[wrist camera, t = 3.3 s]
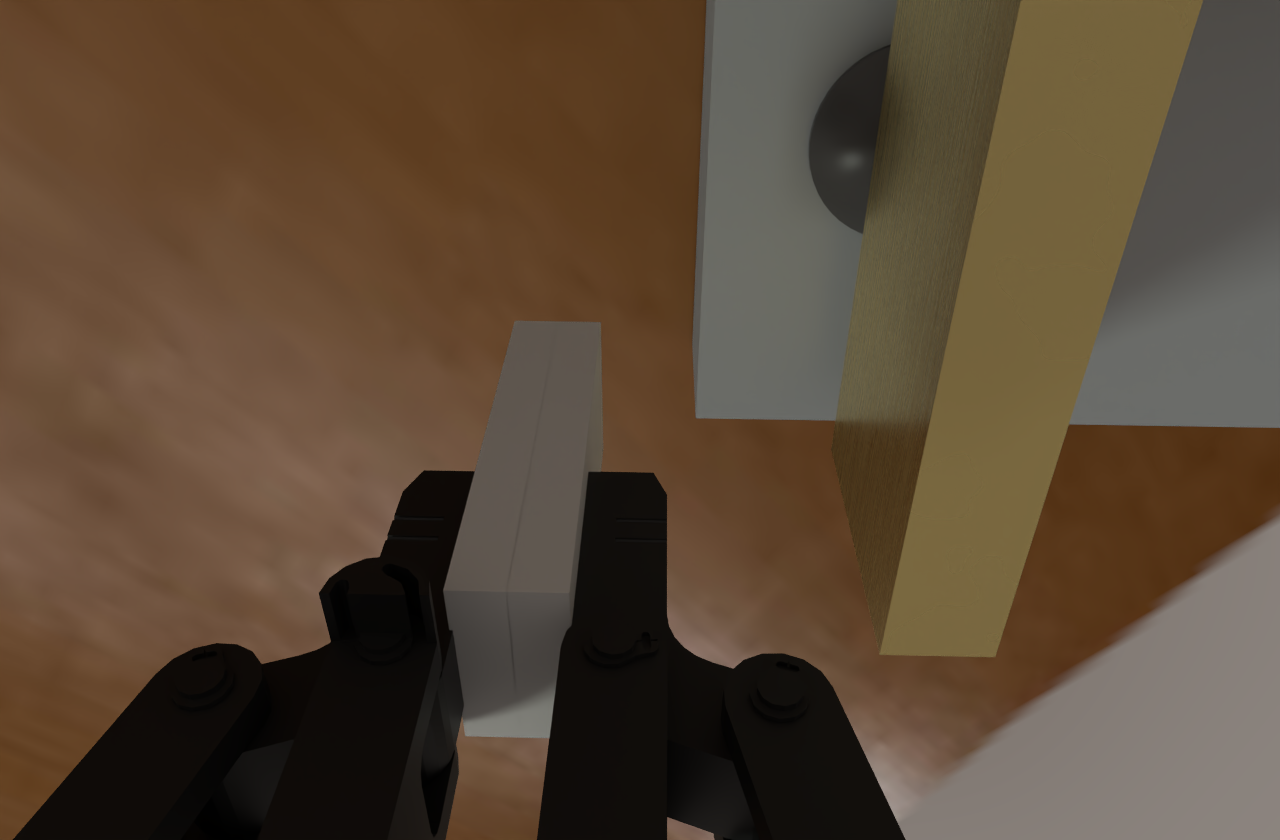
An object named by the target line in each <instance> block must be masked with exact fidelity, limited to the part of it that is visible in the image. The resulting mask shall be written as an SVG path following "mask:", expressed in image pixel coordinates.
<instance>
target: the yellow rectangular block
mask: <svg viewBox="0 0 1280 840" xmlns="http://www.w3.org/2000/svg"><path fill="white" fill-rule="evenodd" d="M1202 3H1203V0H897V6H896V13H895V20H894V26H893V33H892V40H891V47H890V53H889V60H888V67H887V74H886V81H885V87H884V94H883V101H882V108H881V115H880V121H879V128H878V135H877V142H876V148H875V155H874V162H873V169H872V176H871V182H870V189H869V196H868V203H867V210H866V216H865V223H864V230H863V237H862V244H861V250H860V257H859V264H858V271H857V277H856V284H855V291H854V298H853V305H852V311H851V318H850V325H849V332H848V339H847V345H846V352H845V359H844V366H843V372H842V379H841V386H840V393H839V400H838V406H837V413H836V420H835V427H834V434H833V440H832V447H831V450H832V455H833V459H834V463H835V467H836V472H837V476H838V480H839V484H840V489H841V493H842V497H843V501H844V506H845V510H846V514H847V518H848V523H849V527H850V531H851V535H852V540H853V544H854V548H855V552H856V557H857V561H858V565H859V569H860V573H861V578H862V582H863V586H864V590H865V595H866V599H867V603H868V607H869V612H870V616H871V620H872V624H873V629H874V633H875V637H876V641H877V646H878V650H879V654H880V655H916V656H966V657H995V656H996V653H997V649H998V646H999V643H1000V640H1001V637H1002V634H1003V630H1004V627H1005V624H1006V621H1007V618H1008V615H1009V611H1010V608H1011V605H1012V602H1013V599H1014V596H1015V593H1016V589H1017V586H1018V583H1019V580H1020V577H1021V574H1022V570H1023V567H1024V564H1025V561H1026V558H1027V555H1028V552H1029V548H1030V545H1031V542H1032V539H1033V536H1034V533H1035V529H1036V526H1037V523H1038V520H1039V517H1040V514H1041V511H1042V507H1043V504H1044V501H1045V498H1046V495H1047V492H1048V488H1049V485H1050V482H1051V479H1052V476H1053V473H1054V470H1055V466H1056V463H1057V460H1058V457H1059V454H1060V451H1061V447H1062V444H1063V441H1064V438H1065V435H1066V432H1067V429H1068V425H1069V422H1070V419H1071V416H1072V413H1073V410H1074V406H1075V403H1076V400H1077V397H1078V394H1079V391H1080V388H1081V384H1082V381H1083V378H1084V375H1085V372H1086V369H1087V365H1088V362H1089V359H1090V356H1091V353H1092V350H1093V346H1094V343H1095V340H1096V337H1097V334H1098V331H1099V328H1100V324H1101V321H1102V318H1103V315H1104V312H1105V309H1106V305H1107V302H1108V299H1109V296H1110V293H1111V290H1112V287H1113V283H1114V280H1115V277H1116V274H1117V271H1118V268H1119V264H1120V261H1121V258H1122V255H1123V252H1124V249H1125V246H1126V242H1127V239H1128V236H1129V233H1130V230H1131V227H1132V223H1133V220H1134V217H1135V214H1136V211H1137V208H1138V205H1139V201H1140V198H1141V195H1142V192H1143V189H1144V186H1145V182H1146V179H1147V176H1148V173H1149V170H1150V167H1151V164H1152V160H1153V157H1154V154H1155V151H1156V148H1157V145H1158V141H1159V138H1160V135H1161V132H1162V129H1163V126H1164V123H1165V119H1166V116H1167V113H1168V110H1169V107H1170V104H1171V100H1172V97H1173V94H1174V91H1175V88H1176V85H1177V81H1178V78H1179V75H1180V72H1181V69H1182V66H1183V63H1184V59H1185V56H1186V53H1187V50H1188V47H1189V44H1190V40H1191V37H1192V34H1193V31H1194V28H1195V25H1196V22H1197V18H1198V15H1199V12H1200V9H1201V6H1202Z"/></svg>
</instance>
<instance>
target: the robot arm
mask: <svg viewBox="0 0 1280 840" xmlns="http://www.w3.org/2000/svg"><path fill="white" fill-rule="evenodd" d="M602 455H603V414H602V362H601V322H552V321H515V323H514V326H513V330H512V334H511V338H510V341H509V345H508V349H507V353H506V356H505V360H504V364H503V368H502V371H501V375H500V379H499V383H498V386H497V390H496V394H495V398H494V401H493V405H492V409H491V413H490V417H489V420H488V424H487V428H486V432H485V435H484V439H483V443H482V447H481V450H480V454H479V458H478V462H477V465H476V469H475V471H423V472H422V473H421V474H420V475H419V476H418V477H417V478H416V479H415V480H414V481H413V482H412V483H411V484H410V485H409V486H408V487H407V488H406V489H405V490H404V491H403V493H402V496H401V499H400V501H399V504H398V507H397V510H396V513H395V515H394V517H395V518H394V520H393V521H392V524H391V527H390V530H389V532H388V539H387V540H386V541H385V544H384V546H383V549H382V552H381V555H380V557H377V558H368V559H364V560H361V561H359V562H356V563H353V564H351V565H348V566H345V567H344V568H343V569H341V570H340V571H339V572H337V573H336V574H335V575H333V576H332V577H330V578H329V579H328V581H327V582H326V584H325V585H324V587H323V588H322V589H321V591H320V592H319V596H320V600H321V604H322V608H323V611H324V615H325V619H326V623H327V627H328V631H329V635H330V639H331V643H329V644H327V645H325V646H324V647H322V648H320V649H318V650H315V651H312V652H309V653H306V654H303V655H299V656H295V657H291V658H287V659H282V660H278V661H274V662H269V663H265V664H261V663H260V661H259V660H258V658H257V657H256V656H255V654H254V653H253V652H252V651H250V650H248V649H246V648H244V647H241V646H239V645H237V644H220V643H216V644H211V645H207V646H202V647H198V648H194V649H192V650H190V651H188V652H186V653H184V654H182V655H180V656H178V657H176V658H174V659H172V660H171V661H170V662H169V663H168V664H167V665H166V666H164V667H163V668H162V669H161V670H160V671H159V672H158V673H156V674H155V676H154V677H153V678H152V679H151V680H150V681H149V682H148V684H147V685H146V686H145V687H144V688H143V689H142V691H141V692H140V693H139V694H138V695H137V696H136V698H135V699H134V700H133V701H132V702H131V703H130V705H129V706H128V707H127V708H126V709H125V710H124V711H123V713H122V714H121V715H120V716H119V717H118V718H117V720H116V721H115V722H114V723H113V724H112V725H111V727H110V728H109V729H108V730H107V731H106V732H105V733H104V735H103V736H102V737H101V738H100V739H99V740H98V742H97V743H96V744H95V745H94V746H93V747H92V749H91V750H90V751H89V752H88V753H87V754H86V755H85V757H84V758H83V759H82V760H81V761H80V762H79V764H78V765H77V766H76V767H75V768H74V769H73V771H72V772H71V773H70V774H69V775H68V776H67V778H66V779H65V780H64V781H63V782H62V783H61V784H60V786H59V787H58V788H57V789H56V790H55V791H54V793H53V794H52V795H51V796H50V797H49V798H48V800H47V801H46V802H45V803H44V804H43V805H42V806H41V808H40V809H39V810H38V811H37V812H36V813H35V815H34V816H33V817H32V818H31V819H30V820H29V822H28V823H27V824H26V825H25V826H24V827H23V829H22V830H21V831H20V832H19V833H18V834H17V835H16V837H15V838H14V839H13V840H445V839H446V834H447V829H448V824H449V819H450V814H451V809H452V804H453V799H454V794H455V789H456V784H457V779H458V774H459V767H458V753H457V747H456V741H457V736H458V732H459V727H460V722H461V718H462V717H463V723H464V730H465V736H483V737H525V738H549V746H548V754H547V762H546V771H545V779H544V787H543V795H542V803H541V811H540V819H539V828H538V836H537V840H667V817H669V818H672V819H675V820H677V821H680V822H683V823H686V824H689V825H692V826H694V827H697V828H700V829H703V830H706V831H708V832H711V833H714V838H715V840H905V838H904V836H903V833H902V831H901V829H900V827H899V825H898V823H897V821H896V819H895V817H894V814H893V812H892V810H891V808H890V806H889V804H888V802H887V800H886V798H885V796H884V793H883V791H882V789H881V787H880V785H879V783H878V781H877V779H876V777H875V775H874V772H873V770H872V768H871V766H870V764H869V762H868V760H867V758H866V756H865V754H864V751H863V749H862V747H861V745H860V743H859V741H858V739H857V737H856V735H855V733H854V730H853V728H852V726H851V724H850V722H849V720H848V718H847V716H846V714H845V712H844V709H843V707H842V705H841V703H840V701H839V699H838V697H837V695H836V693H835V691H834V688H833V687H832V685H831V684H830V683H829V681H828V680H827V678H826V677H825V676H824V674H823V673H822V672H821V671H820V670H819V669H817V668H816V667H814V666H812V665H811V664H809V663H808V662H806V661H805V660H803V659H800V658H797V657H793V656H790V655H786V654H760V655H757V656H754V657H751V658H748V659H745V660H743V661H742V662H741V663H740V664H738V665H737V666H736V667H735V668H734V669H732V668H729V667H726V666H722V665H719V664H716V663H712V662H710V661H707V660H705V659H702V658H700V657H698V656H696V655H694V654H693V653H691V652H690V651H688V650H687V649H685V648H684V647H683V646H682V645H681V644H680V643H679V641H678V640H677V639H676V638H675V637H674V635H673V633H672V631H671V629H670V627H669V624H668V618H667V494H666V492H665V491H664V489H663V488H662V486H661V484H660V483H659V481H658V480H657V478H656V476H655V475H654V473H637V472H601V466H602Z"/></svg>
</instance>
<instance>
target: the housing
mask: <svg viewBox="0 0 1280 840" xmlns="http://www.w3.org/2000/svg"><path fill="white" fill-rule="evenodd" d="M896 6H897V0H707V5H706V29H705V53H704V77H703V102H702V126H701V150H700V174H699V198H698V222H697V246H696V270H695V294H694V318H693V342H692V346H693V368H694V390H695V413H696V418H720V419H781V420H836V413H837V406H838V400H839V393H840V386H841V379H842V372H843V366H844V359H845V352H846V345H847V339H848V332H849V325H850V318H851V311H852V305H853V298H854V291H855V284H856V277H857V271H858V264H859V257H860V250H861V244H862V237H863V230H864V223H865V216H866V210H867V203H868V196H869V189H870V182H871V176H872V169H873V162H874V155H875V148H876V142H877V135H878V128H879V121H880V115H881V108H882V101H883V94H884V87H885V81H886V74H887V67H888V60H889V53H890V47H891V40H892V33H893V26H894V20H895V13H896ZM1069 424H1087V425H1148V426H1209V427H1270V428H1280V0H1203V3H1202V6H1201V9H1200V12H1199V15H1198V18H1197V22H1196V25H1195V28H1194V31H1193V34H1192V37H1191V40H1190V44H1189V47H1188V50H1187V53H1186V56H1185V59H1184V63H1183V66H1182V69H1181V72H1180V75H1179V78H1178V81H1177V85H1176V88H1175V91H1174V94H1173V97H1172V100H1171V104H1170V107H1169V110H1168V113H1167V116H1166V119H1165V123H1164V126H1163V129H1162V132H1161V135H1160V138H1159V141H1158V145H1157V148H1156V151H1155V154H1154V157H1153V160H1152V164H1151V167H1150V170H1149V173H1148V176H1147V179H1146V182H1145V186H1144V189H1143V192H1142V195H1141V198H1140V201H1139V205H1138V208H1137V211H1136V214H1135V217H1134V220H1133V223H1132V227H1131V230H1130V233H1129V236H1128V239H1127V242H1126V246H1125V249H1124V252H1123V255H1122V258H1121V261H1120V264H1119V268H1118V271H1117V274H1116V277H1115V280H1114V283H1113V287H1112V290H1111V293H1110V296H1109V299H1108V302H1107V305H1106V309H1105V312H1104V315H1103V318H1102V321H1101V324H1100V328H1099V331H1098V334H1097V337H1096V340H1095V343H1094V346H1093V350H1092V353H1091V356H1090V359H1089V362H1088V365H1087V369H1086V372H1085V375H1084V378H1083V381H1082V384H1081V388H1080V391H1079V394H1078V397H1077V400H1076V403H1075V406H1074V410H1073V413H1072V416H1071V419H1070V422H1069Z"/></svg>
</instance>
